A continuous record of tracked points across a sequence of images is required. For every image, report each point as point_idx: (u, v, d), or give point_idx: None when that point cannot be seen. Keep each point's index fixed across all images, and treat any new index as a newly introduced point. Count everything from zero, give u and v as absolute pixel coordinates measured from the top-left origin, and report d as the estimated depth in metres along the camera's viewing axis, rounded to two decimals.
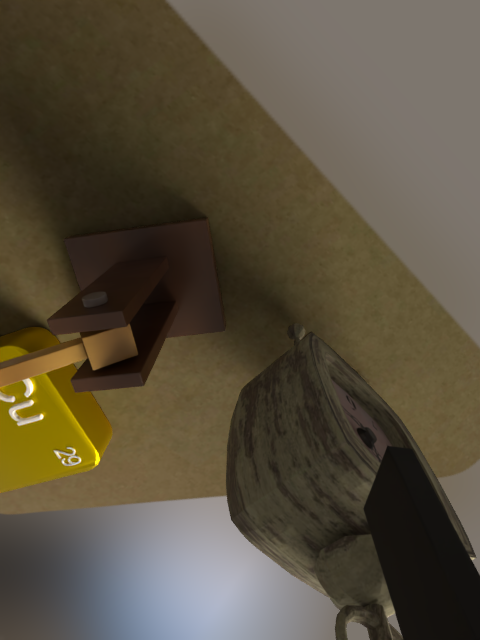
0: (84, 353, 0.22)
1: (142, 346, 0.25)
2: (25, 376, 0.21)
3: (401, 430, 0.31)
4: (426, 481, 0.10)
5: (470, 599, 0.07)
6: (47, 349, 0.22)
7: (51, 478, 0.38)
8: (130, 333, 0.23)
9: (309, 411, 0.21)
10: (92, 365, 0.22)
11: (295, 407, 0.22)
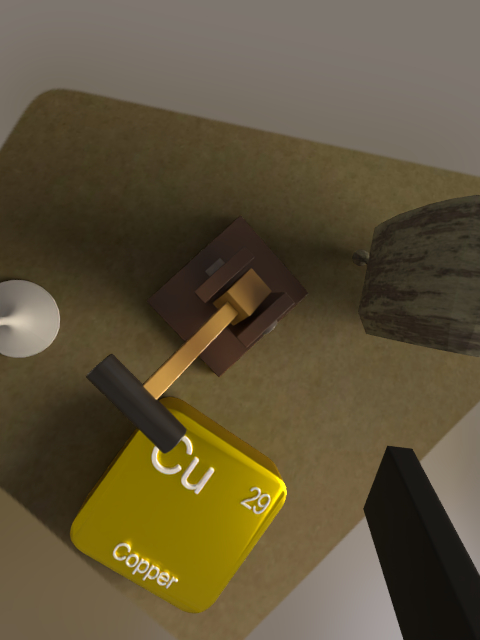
0: (233, 309, 0.25)
1: (266, 299, 0.28)
2: (204, 344, 0.23)
3: None
4: (426, 481, 0.10)
5: (470, 599, 0.07)
6: (205, 322, 0.24)
7: (254, 542, 0.34)
8: (256, 275, 0.25)
9: (429, 222, 0.24)
10: (246, 311, 0.24)
11: (416, 237, 0.25)
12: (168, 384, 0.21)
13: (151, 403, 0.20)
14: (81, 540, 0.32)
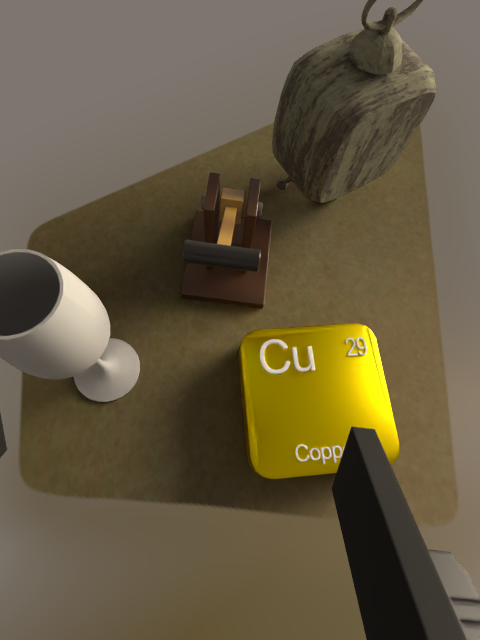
0: (232, 207, 0.36)
1: None
2: (231, 222, 0.33)
3: None
4: (384, 458, 0.11)
5: (410, 559, 0.08)
6: None
7: (382, 376, 0.39)
8: None
9: (288, 98, 0.38)
10: (239, 200, 0.35)
11: (290, 111, 0.39)
12: (229, 240, 0.31)
13: (228, 245, 0.29)
14: (268, 467, 0.35)
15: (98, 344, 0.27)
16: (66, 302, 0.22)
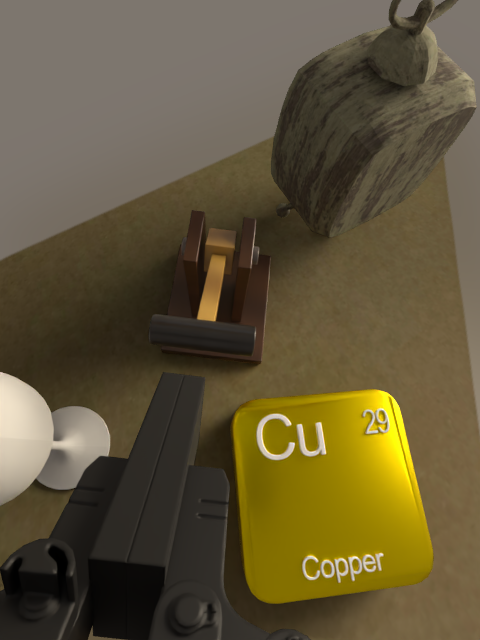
0: (220, 255, 0.28)
1: None
2: (218, 280, 0.25)
3: None
4: (198, 398, 0.12)
5: (167, 466, 0.09)
6: None
7: (409, 459, 0.31)
8: (217, 229, 0.30)
9: (291, 114, 0.31)
10: (229, 247, 0.28)
11: (293, 130, 0.31)
12: (214, 310, 0.23)
13: (212, 321, 0.21)
14: (267, 589, 0.27)
15: (30, 467, 0.20)
16: None
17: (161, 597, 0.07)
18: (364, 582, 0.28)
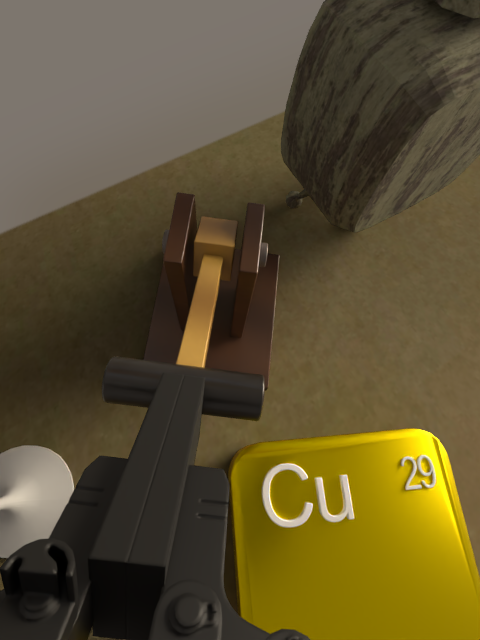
0: (215, 256, 0.20)
1: None
2: (211, 295, 0.18)
3: None
4: (198, 398, 0.12)
5: (167, 466, 0.09)
6: None
7: (462, 524, 0.24)
8: (211, 218, 0.22)
9: (311, 66, 0.23)
10: (228, 245, 0.20)
11: (313, 90, 0.24)
12: (203, 347, 0.16)
13: (198, 370, 0.14)
14: None
15: None
16: None
17: (161, 597, 0.07)
18: None
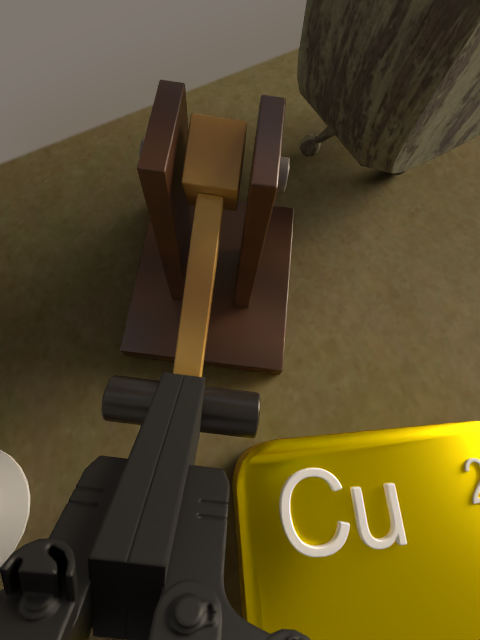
0: (213, 197, 0.15)
1: None
2: (207, 279, 0.15)
3: None
4: (198, 398, 0.12)
5: (167, 466, 0.09)
6: None
7: None
8: (206, 117, 0.14)
9: None
10: (229, 187, 0.14)
11: None
12: (199, 363, 0.15)
13: None
14: None
15: None
16: None
17: (161, 597, 0.07)
18: None
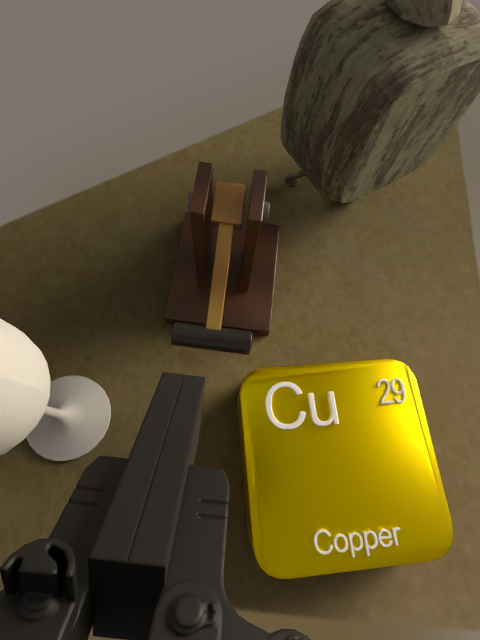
0: (228, 226, 0.27)
1: None
2: (224, 271, 0.28)
3: None
4: (198, 398, 0.12)
5: (167, 466, 0.09)
6: None
7: (426, 431, 0.30)
8: (224, 183, 0.27)
9: (304, 65, 0.29)
10: (236, 222, 0.27)
11: (306, 83, 0.30)
12: (220, 315, 0.28)
13: (217, 336, 0.28)
14: (277, 563, 0.26)
15: (23, 416, 0.18)
16: None
17: (161, 597, 0.07)
18: (380, 557, 0.26)
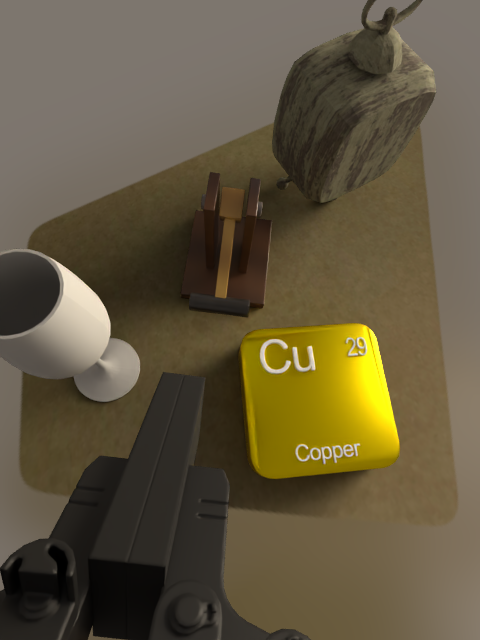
0: (231, 220, 0.37)
1: None
2: (229, 253, 0.37)
3: None
4: (198, 398, 0.12)
5: (167, 466, 0.09)
6: None
7: (382, 375, 0.39)
8: (228, 188, 0.36)
9: (288, 97, 0.38)
10: (237, 217, 0.36)
11: (290, 111, 0.39)
12: (225, 287, 0.37)
13: (223, 302, 0.37)
14: (268, 467, 0.35)
15: (98, 344, 0.27)
16: (66, 301, 0.22)
17: (161, 597, 0.07)
18: (344, 464, 0.36)
